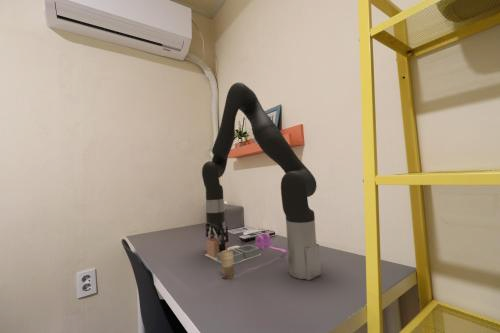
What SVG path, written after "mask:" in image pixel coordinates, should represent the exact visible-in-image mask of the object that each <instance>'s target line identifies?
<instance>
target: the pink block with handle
mask: <svg viewBox="0 0 500 333" xmlns="http://www.w3.org/2000/svg"><path fill="white" fill-rule="evenodd" d="M270 235H271V234H269V233H268V232H264V233H262V235H261V234H260V235H256V236H255V238H254V239H255V247H258V248H260V250H265V247H266V248H270V249H273V250H277V251H279V252H283V253H285V254H282V255H281V256H279V257H285V256H287V249H284V248H279V247H274V246H272V245H271V236H270Z"/></svg>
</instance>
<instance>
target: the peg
mask: <svg viewBox="0 0 500 333" xmlns="http://www.w3.org/2000/svg"><path fill="white" fill-rule="evenodd" d="M220 264H221V265H220V267H221V274H222V275H223V276H222V277H221V279H222V280H226V281H227V280H232V279H234V278H235V273H234V272H235V268H234V265H235V264H234V263H233V251H232V250H225V251H222V252H221V263H220Z"/></svg>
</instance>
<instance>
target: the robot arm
mask: <svg viewBox="0 0 500 333" xmlns="http://www.w3.org/2000/svg"><path fill="white" fill-rule="evenodd" d="M239 111H241V113H243V114H244V116H245V117H246V119H247V120H248V121H249V122H250V125H251V131H252V135H253V138H254V139H255V141H256V143H257V145H258V146H259V148H260V149H261V150H262V152H263V153H264V154H265V155H266V156H268V157H269V158H270V159H271V160H272V161H273V162H275V164H276V165H278V166H279V167H280V168H281V169H282V171H283V172H284V175H283V176H282V177H281V181H280V193H281V194H280V195H281V204H282V211H283V213H284V216H285V226H286V244H287V245H286V246H287V259H288V260H287V261H288V273H289V275H290V276H291V277H293V278H294V279H295V278H296V279H299V280H307V281H311V280H312V279H314V278H317V277H318V276H320V275H321V274H322V268H321V267H322V266H321V257H320V256H321V255H320V253H321V252H320V244H319V243H317V237H316V236H317V235H316V232H317V231H316V219H315V211H314V210H313V209H311V208H310V206H309V199H308V198H310V197H312V196H313V195H314V194H315V193H316V190H317V186H318V185H317V181H316V178H315V176H314V174H312V172H311V171H310V170H309V169H308V167H306V165H305V164H304V162H302V161H301V159H300V158H299V157H298V156H297V154H296V153H295V151H294V150H293V148H292V147H291V146H290V144H289V143H288V141H287V140H286V138H285V137H284V135H283V133H282V132H281V131H280V129H279V127H278V126H277V125H276V124H275V122H274V121H273V119H271V117H270V116H269V115H268V114H267V113H266V111H265V110H264V108H263V107H262V105H261V103H260V101H259V99H258V97H257V95H256V93H255V92H254V90H252V89H251V88H249V86H247V85H246V84H245V83H243V82H240V81H239V82H236V83H233V84H232V85H231V86H230V87H229V89H228V91H227V95H226V98H225V103H224V108H223V113H222V118H221V123H220V124H219V125H220V126H219V130H218V133H217V134H216V137H215V140H214V143H213V147H212V150H211V153H212V154H213V156H212V160H211V161H210V160H209V161H207V162H205V163H204V164H203V166H202V170H201V176H202V181H203V185H204V188H205V215H206V216H205V217H206V219H205V221H206V223H205V238H207V239H210V238H214V237H216V239H218V241H219V249H220V252H222V251H225V243H227V244H228V243H229V232H228V226H223V223H225V221H226V214H225V212H226V211H225V201H224V200H225V199H224V188H223V185H221V184H220V178H221V177H223V175H224V173H225V171H226V167H227V164H228V158H229V155H230V152H231V150H232V148H233V145H234V141H235V137H236V136H235V134H236V129H235V128H236V127H235V126H236V117H237V115H238V112H239ZM220 238H221V239H220ZM225 238H226V239H225Z"/></svg>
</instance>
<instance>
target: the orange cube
mask: <svg viewBox="0 0 500 333" xmlns="http://www.w3.org/2000/svg"><path fill="white" fill-rule="evenodd" d="M220 239H221V238H220ZM225 239H226V237H225ZM227 248H228V242H227V243H225V250H227ZM217 253H220V249H219V241H218V239H216V236H215V237H214V238H210V239H208V238H206V254H208V255H210V256H212V257H214V258H216V257H217Z"/></svg>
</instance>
